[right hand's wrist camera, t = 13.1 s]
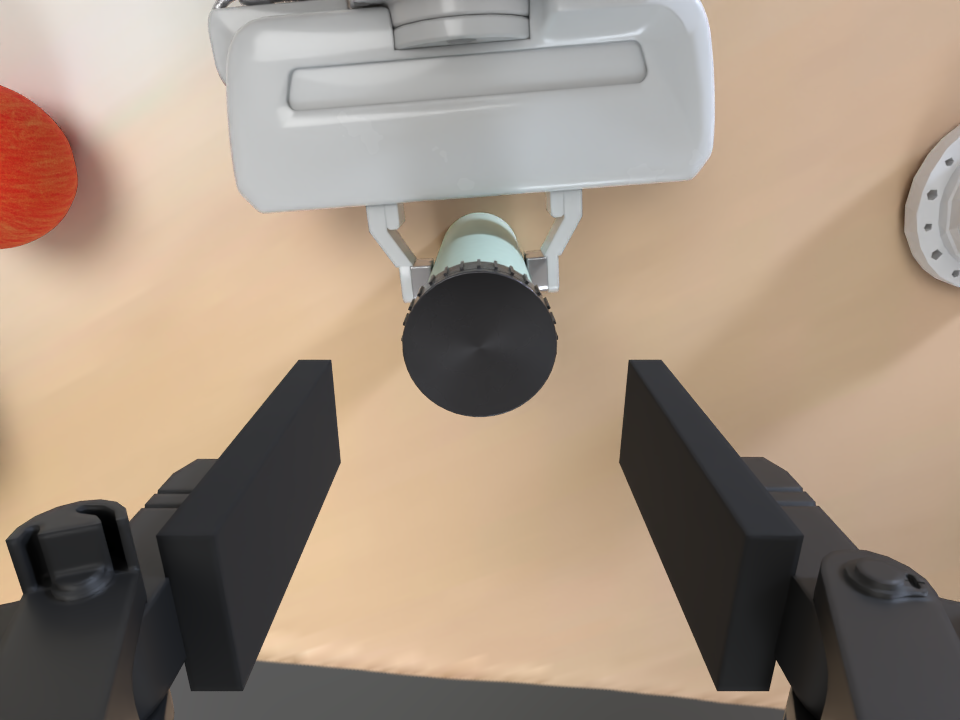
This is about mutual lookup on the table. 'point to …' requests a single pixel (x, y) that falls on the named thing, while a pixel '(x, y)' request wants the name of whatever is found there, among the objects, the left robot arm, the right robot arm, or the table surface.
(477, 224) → the jar
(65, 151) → the apple
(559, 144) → the left robot arm
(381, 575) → the table surface
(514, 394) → the lid
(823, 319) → the table surface
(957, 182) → the mechanical component
